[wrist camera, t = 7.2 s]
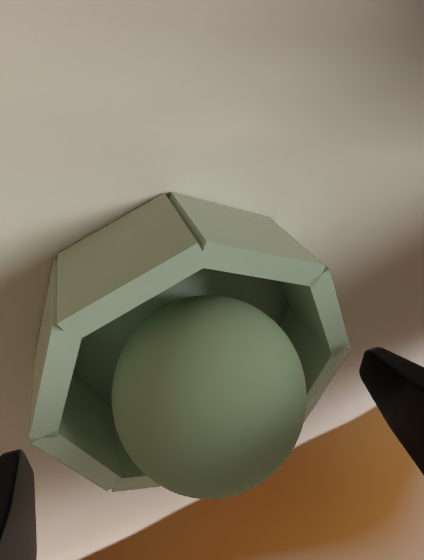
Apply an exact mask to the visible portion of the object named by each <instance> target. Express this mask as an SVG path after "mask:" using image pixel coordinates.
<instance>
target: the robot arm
mask: <svg viewBox="0 0 424 560" xmlns="http://www.w3.org/2000/svg"><path fill="white" fill-rule="evenodd" d="M359 373H360V377H361V379H362V381H363V382H364V384H365V386H366V388H367V389H368V391H369V393H370V395H371V396H372V398H373V400H374V401H375V403H376V405H377V407H378V408H379V410H380V412H381V413H382V415H383V417H384V419H385V420H386V422H387V424H388V425H389V427H390V428H391V430H392V431H393V433H394V434H395V435H396V437H397V438H398V440H399V441H400V442H401V444H402V445H403V447H404V448H405V449H406V451H407V452H408V454H409V455H410V456H411V458H412V459H413V461H414V462H415V463H416V465H417V466H418V468H419V469H420V470H421V472H422V473H423V475H424V367H422V366H420V365H418V364H416V363H413V362H411V361H409V360H407V359H405V358H403V357H401V356H398V355H396V354H394V353H392V352H390V351H388V350H386V349H383V348H381V347H376V348H372V349H369V350H366V351H365V353H364V356H363V359H362V362H361V366H360V370H359ZM36 554H37V544H36V514H35V488H34V474H33V470H32V467H31V465H30V463H29V461H28V459H27V457H26V456H25V454H24V452H23V451H22V450H21V449H17V450H14V451H10V452H7V453H4V454H2V455H1V456H0V560H36Z"/></svg>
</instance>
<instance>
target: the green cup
mask: <svg viewBox="0 0 424 560" xmlns="http://www.w3.org/2000/svg"><path fill="white" fill-rule="evenodd" d="M202 295H217V296H225V297H230V298H234V299H238V300H240V301H243V302H246V303H248V304H250V305H252V306H254V307H256V308H257V309H259V310H261V311H262V312H263V313H265V314H266V315H267V316H269V317H270V318H271V319H272V320H274V321H275V322H276V323H277V325H278V326H279V327H280V328H281V329H282V330H283V331H284V332H285V334H286V335H287V336H288V338H289V339H290V341H291V343H292V344H293V346H294V348H295V350H296V352H297V354H298V356H299V359H300V362H301V365H302V368H303V372H304V376H305V384H306V394H307V398H306V412H305V417H304V421H305V420H306V418H307V417H308V415H309V413H310V412H311V410H312V409H313V407H314V406H315V404H316V403H317V401H318V399H319V398H320V396H321V395H322V393H323V392H324V390H325V389H326V387H327V386H328V384H329V382H330V381H331V379H332V378H333V376H334V375H335V373H336V372H337V370H338V368H339V367H340V365H341V364H342V362H343V361H344V359H345V358H346V356H347V354H348V353H349V351H348V350H347V349H348V348H350V344H349V340H348V336H347V332H346V329H345V325H344V321H343V317H342V314H341V310H340V306H339V302H338V299H337V295H336V291H335V287H334V284H333V280H332V276H331V272H330V269H329V268H327V267H326V266H325V265H324V264H323V263H322V262H321V261H320V260H318V259H317V258H316V257H315V256H314V255H313V254H311V253H310V252H309V251H308V250H307V249H306V248H304V247H303V246H302V245H301V244H300V243H299V242H297V241H296V240H295V239H294V238H293V237H292V236H290V235H289V234H288V233H287V232H286V231H285V230H283V229H282V228H281V227H280V226H279V225H278V224H276V223H275V222H274V221H273V220H272V219H271V218H269V217H265V216H261V215H258V214H254V213H250V212H246V211H242V210H238V209H235V208H231V207H227V206H223V205H219V204H216V203H212V202H208V201H204V200H200V199H196V198H193V197H189V196H185V195H181V194H177V193H174V192H171V194H170V197H169V199H168V197H167V196H166V194H165V193H163V194H161V195H160V196H158V197H156V198H154V199H153V200H151V201H149V202H147V203H146V204H144V205H142V206H140V207H139V208H137V209H135V210H133V211H132V212H130V213H128V214H126V215H125V216H123V217H121V218H119V219H117V220H116V221H114V222H112V223H110V224H109V225H107V226H105V227H103V228H102V229H100V230H98V231H96V232H95V233H93V234H91V235H89V236H88V237H86V238H84V239H82V240H81V241H79V242H77V243H75V244H74V245H72V246H70V247H68V248H66V249H65V250H63V251H61V252H59V253H58V259H54V260H53V265H52V270H51V275H50V280H49V286H48V291H47V296H46V301H45V307H44V312H43V317H42V322H41V327H40V333H39V338H38V343H37V348H36V355H35V368H34V381H33V394H32V406H31V419H30V432H29V439H32V440H31V444H33V445H34V446H36V447H38V448H39V449H41V450H42V451H44V452H46V453H47V454H49V455H50V456H52V457H53V458H55V459H57V460H58V461H60V462H61V463H63V464H65V465H66V466H68V467H69V468H71V469H72V470H74V471H76V472H77V473H79V474H80V475H82V476H84V477H85V478H87V479H88V480H90V481H91V482H93V483H95V484H96V485H98V486H99V487H101V488H103V489H104V490H106V491H108V490H109V489H111V488H112V492H115V491H124V490H132V489H141V488H149V487H158V486H160V485H159V484H157V483H156V482H154V481H153V480H152V479H150V478H149V477H148V476H146V475H145V474H144V473H143V472H142V471H141V470H140V469H139V468H138V466H137V465H136V464H135V463H134V462H133V460H132V459H131V457H130V456H129V454H128V453H127V451H126V450H125V448H124V447H123V444H122V442H121V440H120V437H119V435H118V432H117V430H116V426H115V422H114V418H113V412H112V400H111V396H112V383H113V377H114V372H115V368H116V365H117V362H118V359H119V357H120V354H121V352H122V350H123V348H124V347H125V345H126V343H127V341H128V340H129V338H130V337H131V335H132V334H133V333H134V331H135V330H136V329H137V328H138V327H139V326H140V325H141V324H142V323H143V322H144V321H145V320H146V319H147V318H148V317H149V316H151V315H152V314H153V313H155V312H156V311H158V310H159V309H161V308H162V307H164V306H166V305H168V304H170V303H173V302H175V301H178V300H181V299H184V298H188V297H193V296H202ZM303 423H304V422H303Z"/></svg>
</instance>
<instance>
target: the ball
mask: <svg viewBox="0 0 424 560" xmlns="http://www.w3.org/2000/svg"><path fill="white" fill-rule="evenodd" d="M306 398H307V394H306V384H305V376H304V372H303V368H302V365H301V362H300V359H299V356H298V354H297V352H296V350H295V348H294V346H293V344H292V343H291V341H290V339H289V338H288V336H287V335H286V334H285V332H284V331H283V330H282V329H281V328H280V327H279V326H278V325H277V323H276V322H275V321H274V320H272V319H271V318H270V317H269V316H267V315H266V314H265V313H263V312H262V311H261V310H259V309H257V308H256V307H254V306H252V305H250V304H248V303H246V302H243V301H240V300H238V299H234V298H230V297H225V296H217V295H202V296H193V297H188V298H184V299H181V300H178V301H175V302H173V303H170V304H168V305H166V306H164V307H162V308H161V309H159V310H158V311H156V312H155V313H153V314H152V315H151V316H149V317H148V318H147V319H146V320H145V321H144V322H143V323H142V324H141V325H140V326H139V327H138V328H137V329H136V330H135V331H134V333H133V334H132V335H131V337H130V338H129V340H128V341H127V343H126V345H125V347H124V348H123V350H122V352H121V354H120V357H119V359H118V362H117V365H116V368H115V372H114V377H113V383H112V396H111V400H112V412H113V418H114V422H115V426H116V430H117V432H118V435H119V437H120V440H121V442H122V444H123V447H124V448H125V450H126V451H127V453H128V454H129V456H130V457H131V459H132V460H133V462H134V463H135V464H136V465H137V466H138V468H139V469H140V470H141V471H142V472H143V473H144V474H145V475H146V476H148V477H149V478H150V479H152V480H153V481H154V482H156V483H157V484H159V485H160V486H162V487H164V488H166V489H168V490H170V491H172V492H174V493H177V494H180V495H184V496H188V497H192V498H200V499H219V498H225V497H230V496H234V495H237V494H240V493H243V492H246V491H248V490H250V489H252V488H254V487H255V486H257V485H259V484H261V483H262V482H263V481H265V480H266V479H267V478H269V477H270V476H271V475H272V474H273V473H274V472H275V471H276V470H277V469H279V467H280V466H281V465H282V464H283V463H284V461H285V460H286V459H287V457H288V455H289V454H290V453H291V451H292V450H293V448H294V446H295V444H296V442H297V439H298V437H299V434H300V432H301V429H302V426H303V422H304V417H305V412H306Z"/></svg>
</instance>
